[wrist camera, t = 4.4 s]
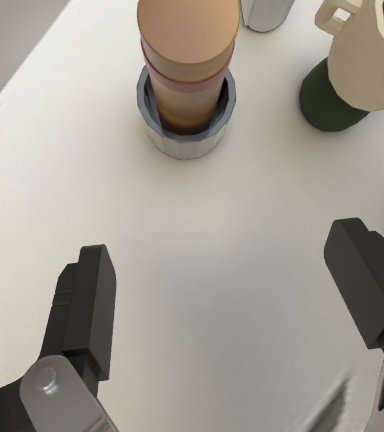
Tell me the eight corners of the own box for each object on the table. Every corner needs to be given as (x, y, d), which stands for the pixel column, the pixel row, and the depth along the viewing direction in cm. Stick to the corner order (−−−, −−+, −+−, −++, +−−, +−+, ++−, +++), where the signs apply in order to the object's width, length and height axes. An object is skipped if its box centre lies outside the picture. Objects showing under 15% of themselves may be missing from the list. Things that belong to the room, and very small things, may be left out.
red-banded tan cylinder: (197, 84, 30) (213, -57, 15) (220, 131, 30) (260, 38, 15) (150, 107, 29) (116, -13, 14) (173, 154, 29) (163, 83, 14)
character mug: (398, 92, 31) (557, -3, 18) (365, 160, 30) (502, 114, 17) (294, 39, 30) (378, -97, 17) (261, 107, 30) (320, 20, 17)
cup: (203, 70, 30) (209, 28, 24) (237, 139, 30) (252, 116, 24) (133, 102, 30) (120, 69, 23) (167, 172, 30) (163, 158, 23)
